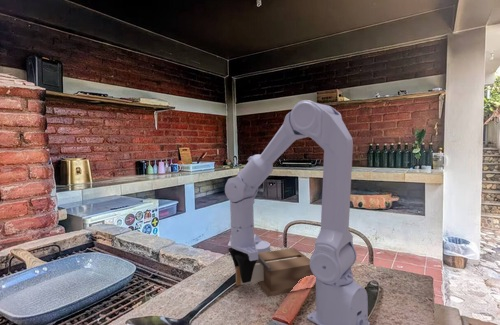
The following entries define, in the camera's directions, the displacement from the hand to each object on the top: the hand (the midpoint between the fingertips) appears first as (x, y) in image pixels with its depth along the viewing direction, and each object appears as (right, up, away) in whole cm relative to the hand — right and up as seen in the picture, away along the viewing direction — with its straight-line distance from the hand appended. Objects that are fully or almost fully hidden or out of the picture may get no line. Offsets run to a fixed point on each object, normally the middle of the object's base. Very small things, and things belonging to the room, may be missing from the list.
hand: (243, 278), depth 71 cm
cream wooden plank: (+6, -1, +2) cm, 7 cm away
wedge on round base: (+2, -2, +24) cm, 24 cm away
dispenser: (+10, -2, +3) cm, 11 cm away
